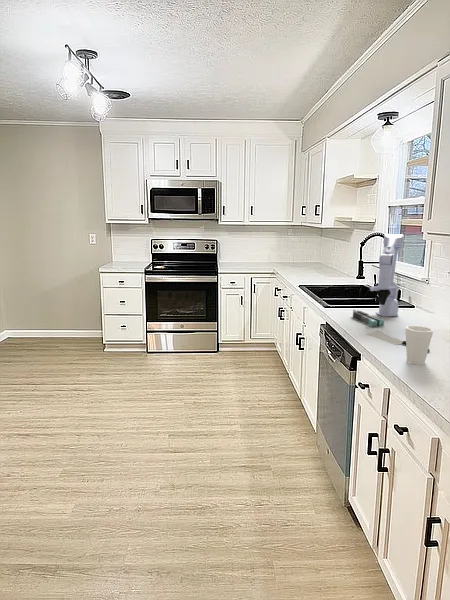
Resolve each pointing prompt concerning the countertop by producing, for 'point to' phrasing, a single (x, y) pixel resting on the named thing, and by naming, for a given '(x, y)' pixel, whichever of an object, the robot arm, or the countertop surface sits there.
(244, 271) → the countertop surface
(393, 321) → the countertop surface
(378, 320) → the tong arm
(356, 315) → the tongs fixed arm
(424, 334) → the foam cup
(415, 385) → the countertop surface
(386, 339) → the kitchen cleaver
